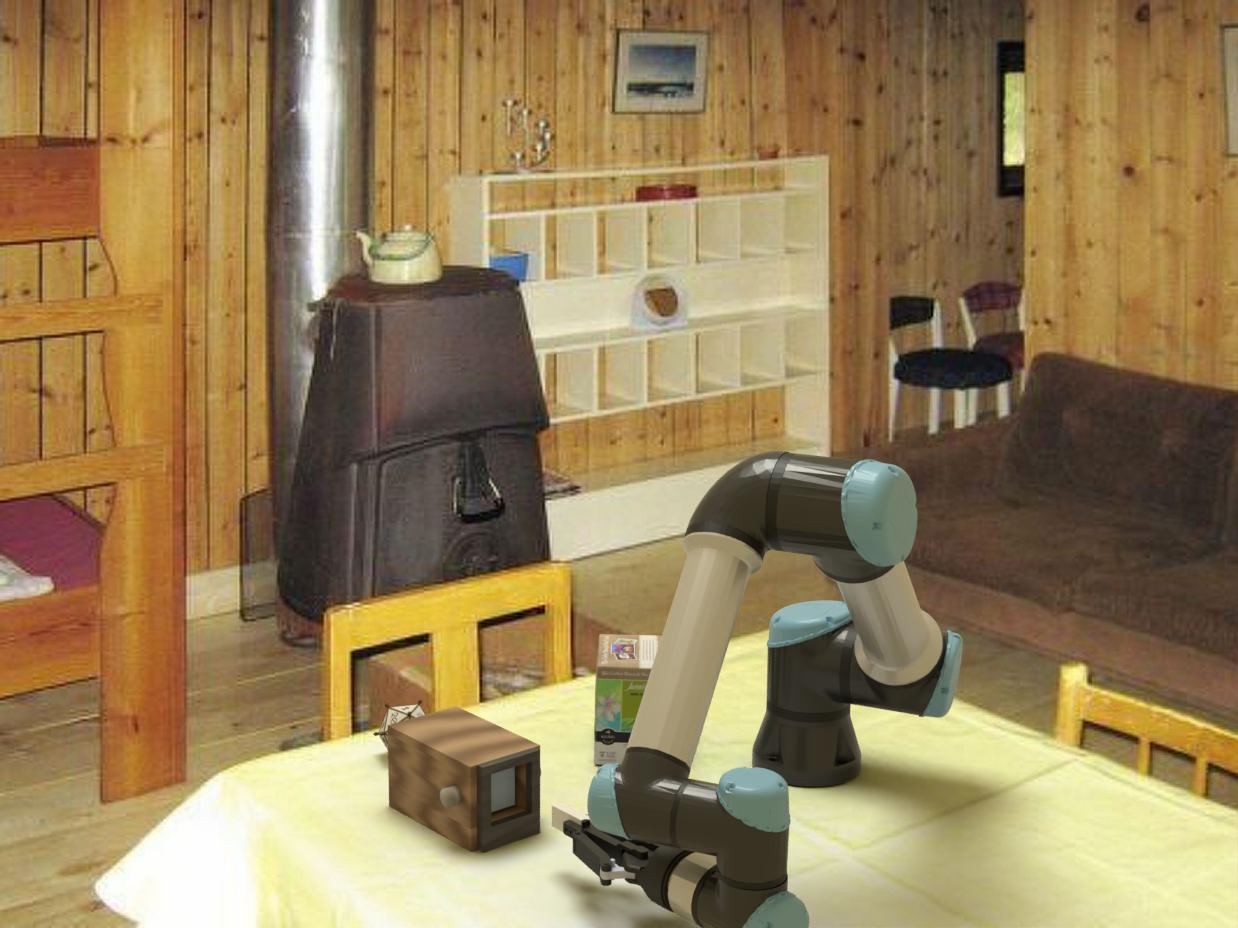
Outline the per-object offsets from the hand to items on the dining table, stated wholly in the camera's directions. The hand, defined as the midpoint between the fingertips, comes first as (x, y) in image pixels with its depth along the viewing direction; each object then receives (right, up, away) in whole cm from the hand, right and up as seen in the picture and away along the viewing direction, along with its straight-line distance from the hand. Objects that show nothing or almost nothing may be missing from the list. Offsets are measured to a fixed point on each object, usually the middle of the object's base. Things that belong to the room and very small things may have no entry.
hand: (556, 813), depth 214 cm
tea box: (+9, +2, +40) cm, 41 cm away
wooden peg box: (-13, -3, +16) cm, 20 cm away
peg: (-13, 0, +15) cm, 19 cm away
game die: (-22, +1, +35) cm, 41 cm away
